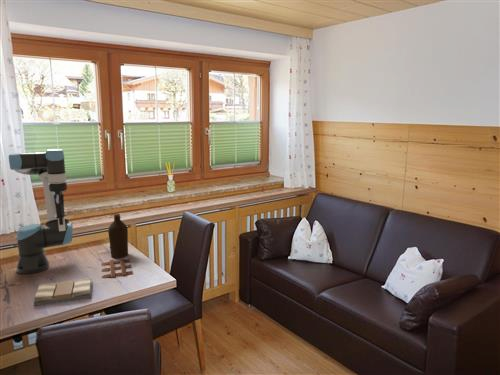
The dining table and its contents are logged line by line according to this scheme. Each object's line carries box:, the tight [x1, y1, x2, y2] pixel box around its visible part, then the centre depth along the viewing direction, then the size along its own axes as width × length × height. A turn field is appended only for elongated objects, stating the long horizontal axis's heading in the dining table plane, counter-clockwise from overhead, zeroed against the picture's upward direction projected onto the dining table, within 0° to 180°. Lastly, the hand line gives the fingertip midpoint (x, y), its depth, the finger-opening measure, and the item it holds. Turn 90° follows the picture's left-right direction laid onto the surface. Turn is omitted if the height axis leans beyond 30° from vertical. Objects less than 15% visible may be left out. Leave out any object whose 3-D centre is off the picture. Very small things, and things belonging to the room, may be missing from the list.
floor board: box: [33, 280, 94, 307], centre depth 176 cm, size 14×23×4 cm, turn 109°
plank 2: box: [73, 277, 93, 297], centre depth 178 cm, size 14×7×2 cm, turn 19°
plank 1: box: [33, 282, 58, 302], centre depth 174 cm, size 14×7×2 cm, turn 19°
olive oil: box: [107, 212, 129, 259], centre depth 223 cm, size 11×11×25 cm
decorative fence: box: [100, 257, 134, 279], centre depth 206 cm, size 23×2×15 cm
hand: (62, 230), depth 185 cm, fingers closed
